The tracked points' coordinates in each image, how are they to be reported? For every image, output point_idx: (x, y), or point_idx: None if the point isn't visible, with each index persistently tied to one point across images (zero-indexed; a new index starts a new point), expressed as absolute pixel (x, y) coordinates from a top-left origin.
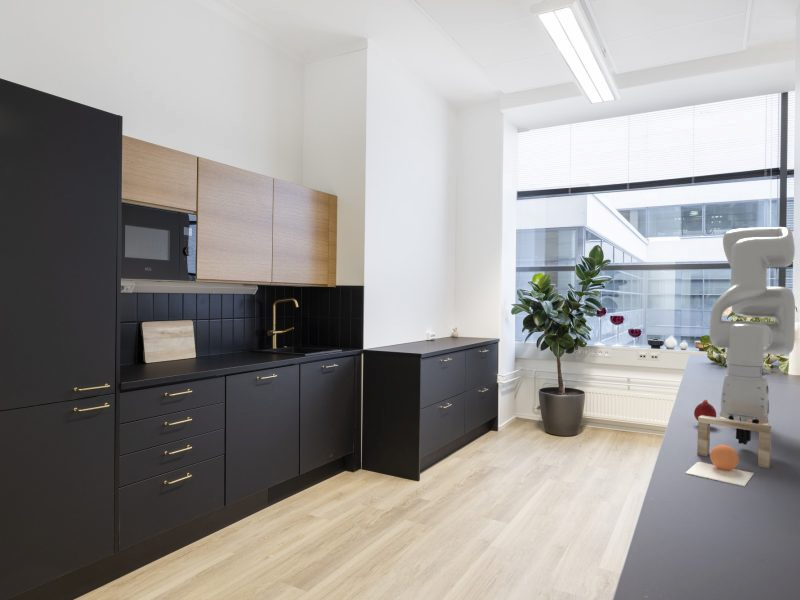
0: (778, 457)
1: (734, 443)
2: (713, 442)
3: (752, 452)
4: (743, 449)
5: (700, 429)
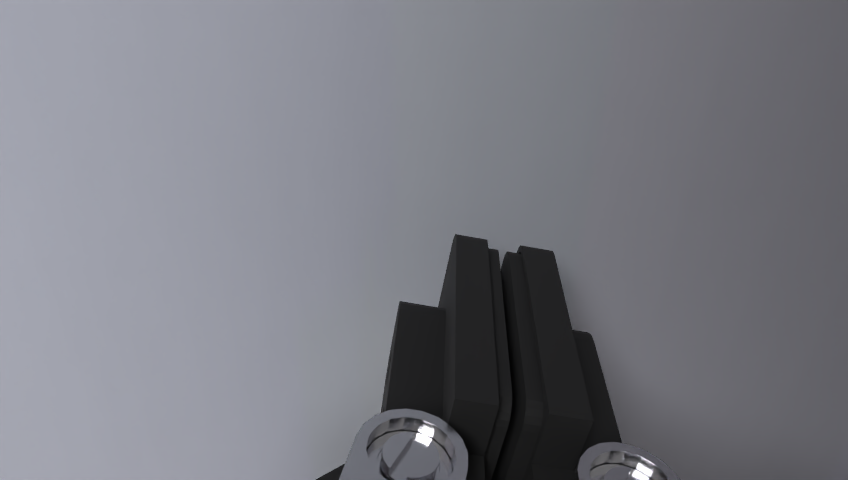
0: (815, 411)
1: (376, 11)
2: (117, 147)
3: None
4: None
5: None
